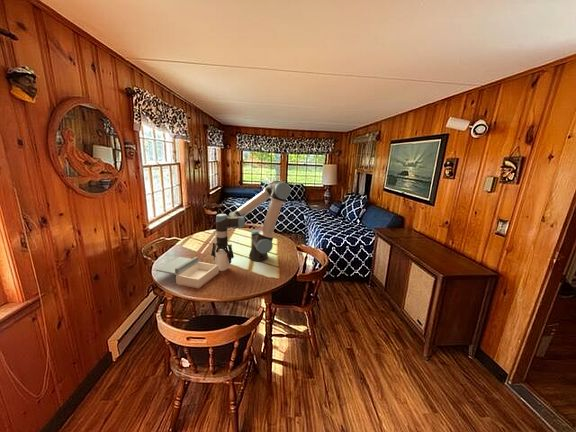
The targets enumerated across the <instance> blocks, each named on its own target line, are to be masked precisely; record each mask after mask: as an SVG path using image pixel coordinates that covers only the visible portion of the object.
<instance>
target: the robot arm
mask: <svg viewBox="0 0 576 432" xmlns="http://www.w3.org/2000/svg"><path fill="white" fill-rule="evenodd" d="M290 195H291V187H290V185H289V184H288V183H287V182H284V181H281V180H273V181H272V182H271V183H268V184H267V185H266V186H264V188H263V189H262V190H261V191H260V192H259V193H258V194H256V195H255V196H253V197H252V198H250V199H249V200H248V201H246V202H245V203H244V204H243V205H241V206H240V207H238V209H236V210H234V211H230V212H229V214H228V215H227V214H226V213H219V214H216V216H215V234H216V238H215V239H216V241H214V242H213V243H212V249H211V254H210V255H211V256H212V257H213V261H214V264H215V265H217V259H216V253H215V252H217V253H218V252H219V250H221V249H223V250H224V251H225V253H227V257H228V259H227V264H228V267H227V269H230V267H231V263H232V259H234V258H235V256H234V251H233V245H232V243H231V244H229V242H228V240H229V239H228V229H229V228H232V229H233V228H244V227H245V226H246V218H245V217H246V216H247V215H248V214H250V213H251V212H253V211H254V210H255V209H256V208H258V207H260V206H261V205H262V204H263V203H265V202H266V201H268V200H269V199H270V203H269V205H268V209H267V212H266V214H265V218H264V222H263V224H262V227H261V229H254V230H251V233H250V234H251V236H250V237H251V242H250V243H251V245H250V247H251V248H250V252H249V254H248V259H249V260H250V261H253V262H263V261H266V260H268V258H269V254H268V253H269V252H271V251H272V249H273V240H274V235H273V233H274V230H275V227H276V224H277V221H278V218H279V215H280V211H281V208H282V206H283V204H285V203H286V200H287V199H288V197H290ZM228 250H229V251H228Z"/></svg>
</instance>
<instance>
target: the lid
mask: <svg viewBox="0 0 576 432" xmlns="http://www.w3.org/2000/svg"><path fill="white" fill-rule="evenodd" d="M197 262H200V260H199V256H194V257H193V258H190V257H182V256H179V257H177V258H174V259H173V260H171V261H169V262H167V263H165V264H163V265H162V266H159V267H158V268H156V269H155V272H159V273H163V274H164V273H165V274H170V275H175V276H176V275H178V274H179V273H181V272H183V271H184V270H186V269H188V268H189V267H191V266H193V265H194V264H196V263H197Z"/></svg>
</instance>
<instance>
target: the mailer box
mask: <svg viewBox="0 0 576 432" xmlns="http://www.w3.org/2000/svg"><path fill="white" fill-rule="evenodd" d="M219 271H220V270H219V268H218V265H215V263H214V264H213V263H208V262H203V261H199V262H197V263H196V264H194V265H193V266H191V267H189V268H188V269H186V270H184V271H183V272H181V273H179V274H178V275H175V282H176V285H179V286H183V287H189V288H194V289H200V288H201V287H203V286H204V285H206V284H207V283H208V282H209V281H210V280H212V279H214V277H215V276H217V275H218V274H220V272H219Z"/></svg>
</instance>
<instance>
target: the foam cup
mask: <svg viewBox="0 0 576 432" xmlns="http://www.w3.org/2000/svg"><path fill="white" fill-rule="evenodd" d="M228 251H229V249H228ZM215 253H216V259H217V265H218V268H219V271H220V272H221V271H222V272H223V271H227V270H228V264H227V259H228V257H227V253H225V251H224V250H223V249H220V250H219V252H218V253H217V252H216V251H215Z"/></svg>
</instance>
